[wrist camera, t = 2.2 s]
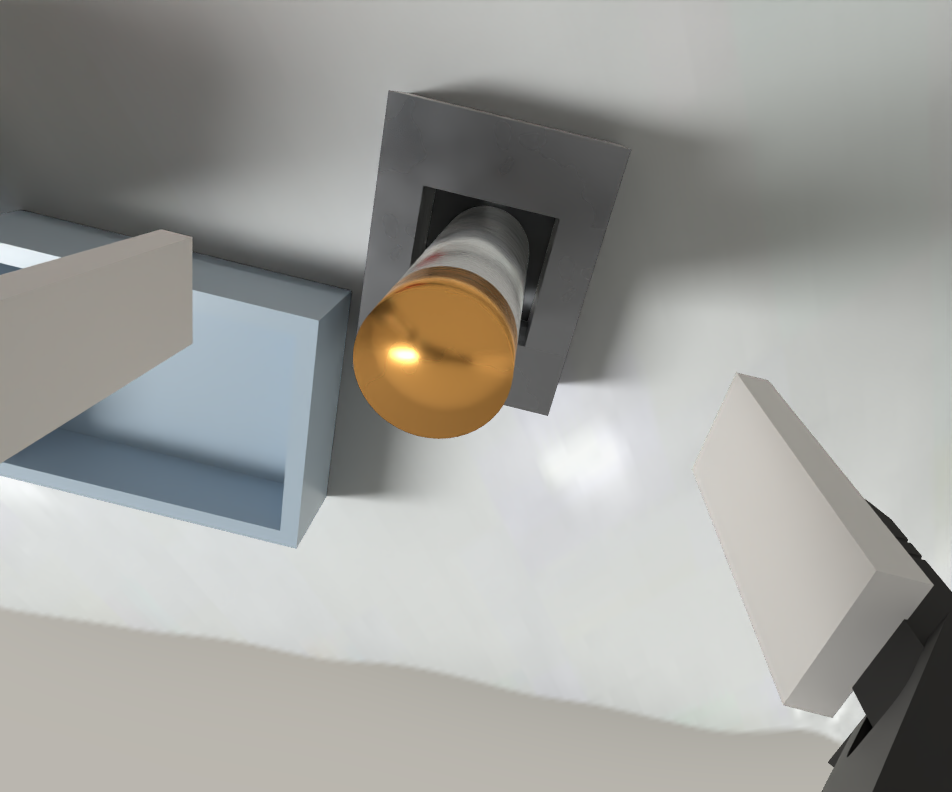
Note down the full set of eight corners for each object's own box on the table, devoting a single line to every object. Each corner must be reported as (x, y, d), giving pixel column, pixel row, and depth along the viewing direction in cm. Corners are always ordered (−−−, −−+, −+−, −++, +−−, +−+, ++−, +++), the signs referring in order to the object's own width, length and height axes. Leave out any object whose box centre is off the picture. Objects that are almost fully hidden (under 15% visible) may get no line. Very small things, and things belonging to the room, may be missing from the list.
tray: (50, 428, 30) (-17, 471, 27) (20, 209, 25) (-67, 226, 22) (326, 496, 30) (296, 548, 26) (351, 290, 25) (318, 320, 22)
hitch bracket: (372, 341, 26) (352, 367, 23) (408, 93, 22) (388, 90, 19) (547, 384, 26) (547, 415, 23) (620, 144, 21) (631, 149, 19)
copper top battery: (433, 284, 25) (344, 418, 14) (450, 196, 23) (363, 270, 12) (517, 304, 25) (492, 454, 14) (539, 217, 23) (531, 311, 12)
